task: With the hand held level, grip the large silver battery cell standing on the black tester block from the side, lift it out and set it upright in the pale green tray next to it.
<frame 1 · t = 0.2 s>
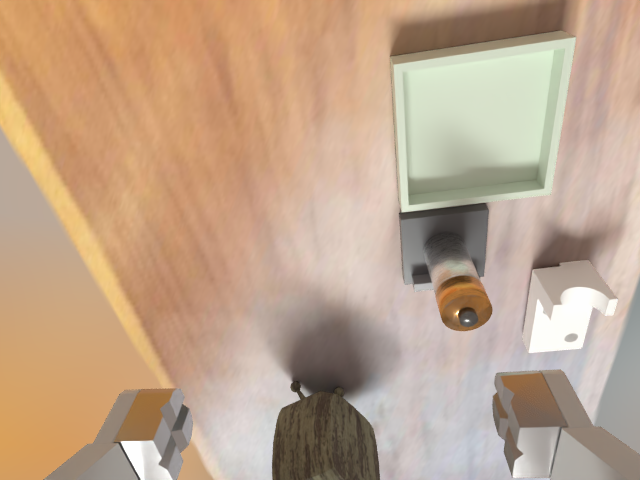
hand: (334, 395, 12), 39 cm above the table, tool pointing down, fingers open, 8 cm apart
bracket: (550, 297, 62), on the table
tester block: (441, 242, 57), on the table
tray: (471, 124, 48), on the table
tabletop clock: (329, 391, 74), on the table
battery cell: (444, 249, 55), point 1 cm above the table, touching tester block
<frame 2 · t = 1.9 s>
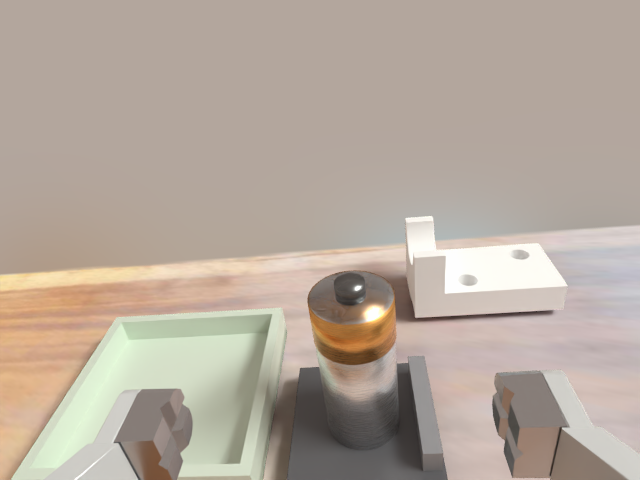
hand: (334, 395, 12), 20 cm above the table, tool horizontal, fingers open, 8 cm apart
bracket: (477, 299, 45), on the table
tester block: (364, 431, 33), on the table
tray: (179, 405, 37), on the table
battery cell: (363, 418, 32), point 1 cm above the table, touching tester block
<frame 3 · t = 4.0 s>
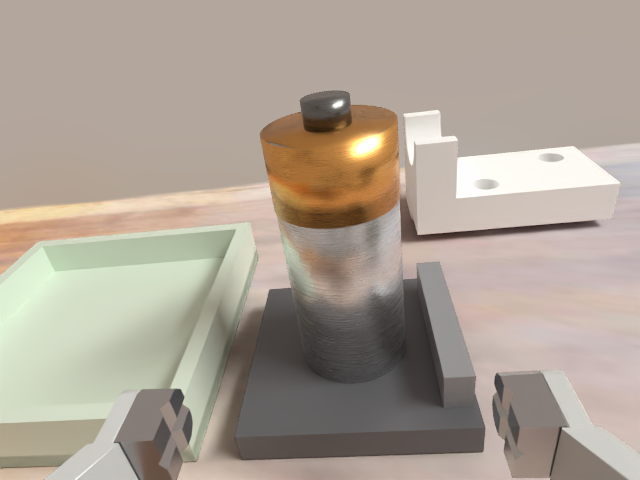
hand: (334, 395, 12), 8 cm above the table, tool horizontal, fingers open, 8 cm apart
bracket: (497, 217, 35), on the table
tester block: (356, 365, 23), on the table
tray: (106, 341, 27), on the table
battery cell: (354, 343, 22), point 1 cm above the table, touching tester block
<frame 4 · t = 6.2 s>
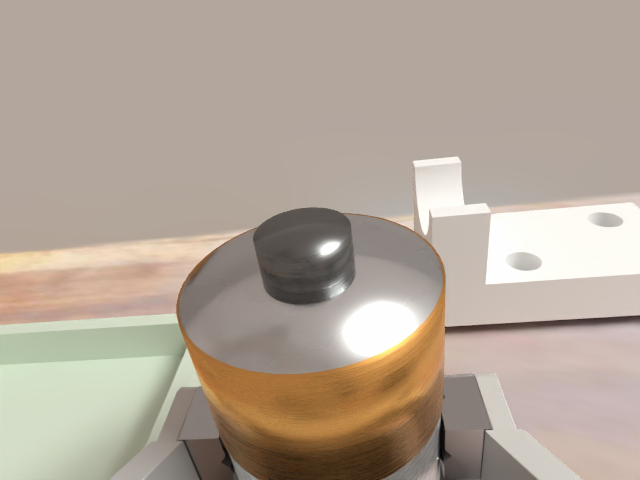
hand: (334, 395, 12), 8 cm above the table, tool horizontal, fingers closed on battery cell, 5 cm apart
bracket: (533, 295, 27), on the table
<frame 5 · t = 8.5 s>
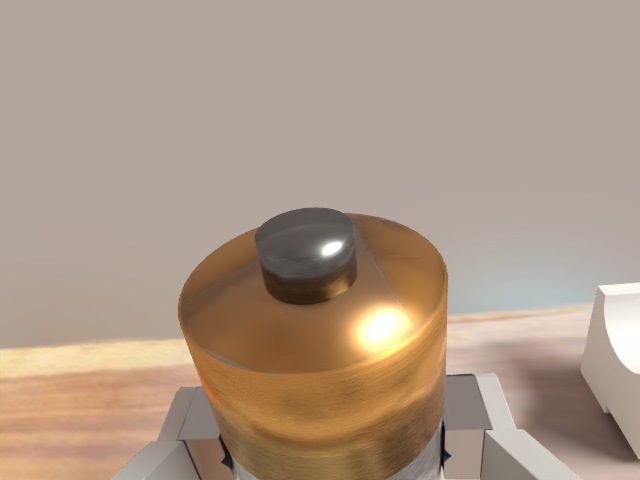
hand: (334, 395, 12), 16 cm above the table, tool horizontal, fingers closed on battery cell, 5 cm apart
when the fingers open (9 cm above the table, at t = 10.7 s): battery cell drops 2 cm, resting on tray.
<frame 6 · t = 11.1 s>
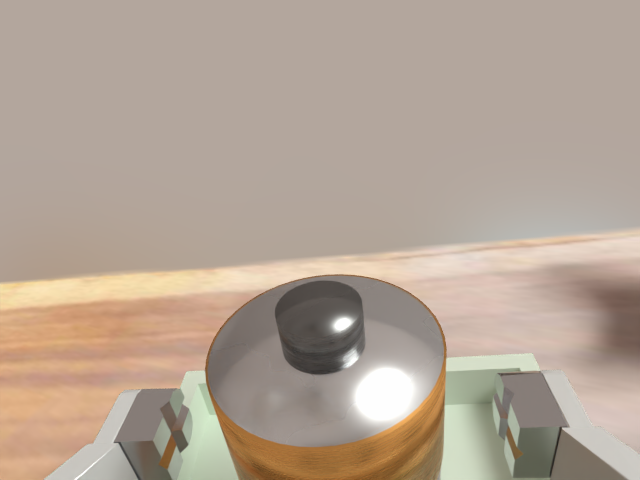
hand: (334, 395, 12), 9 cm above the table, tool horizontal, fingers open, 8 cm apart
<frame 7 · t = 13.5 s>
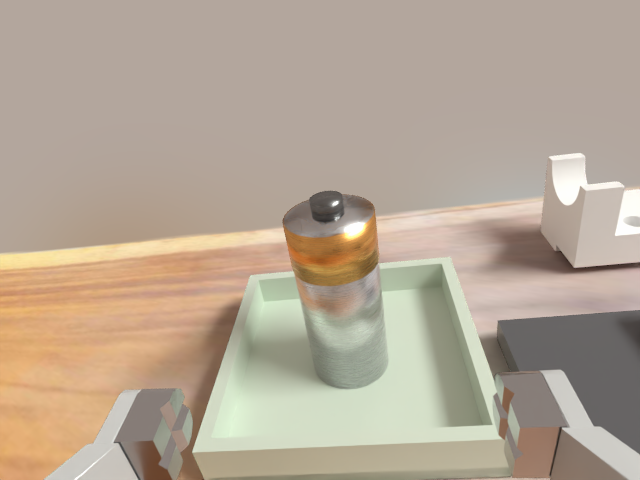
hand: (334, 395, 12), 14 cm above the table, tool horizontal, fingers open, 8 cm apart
bracket: (635, 248, 38), on the table
tester block: (609, 390, 26), on the table
tray: (352, 368, 31), on the table
battery cell: (350, 359, 30), point 1 cm above the table, touching tray
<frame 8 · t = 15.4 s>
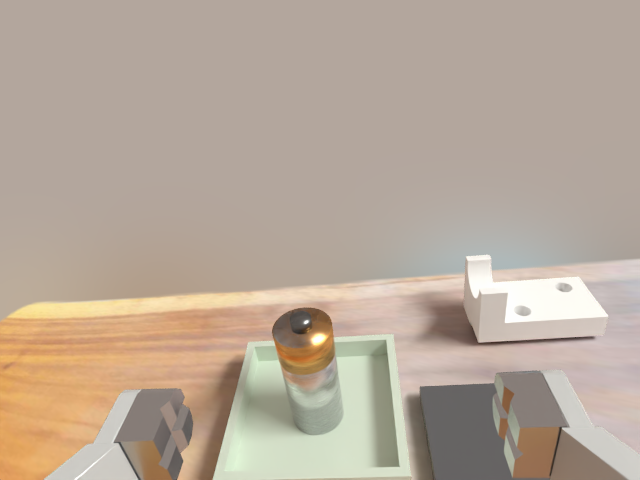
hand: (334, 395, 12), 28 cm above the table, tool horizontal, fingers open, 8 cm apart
bracket: (527, 324, 53), on the table
tester block: (484, 440, 40), on the table
tray: (319, 417, 45), on the table
battery cell: (318, 412, 44), point 1 cm above the table, touching tray
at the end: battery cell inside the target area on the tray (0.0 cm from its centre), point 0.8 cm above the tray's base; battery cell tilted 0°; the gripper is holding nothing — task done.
